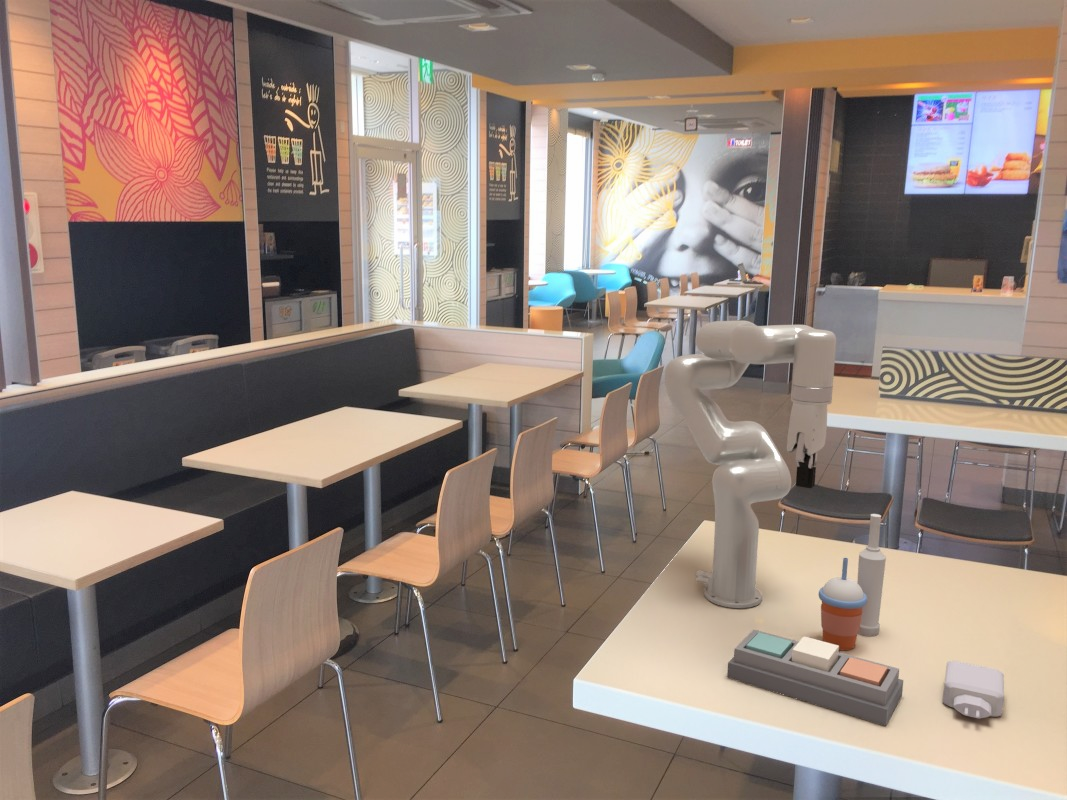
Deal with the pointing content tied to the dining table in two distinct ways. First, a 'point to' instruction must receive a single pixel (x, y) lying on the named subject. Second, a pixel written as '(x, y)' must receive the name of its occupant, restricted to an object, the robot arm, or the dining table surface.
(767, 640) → the teal key
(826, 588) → the cup with straw
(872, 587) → the bottle
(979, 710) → the charger
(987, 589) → the dining table surface
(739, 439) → the robot arm
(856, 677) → the terracotta key
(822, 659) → the cream key
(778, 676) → the keypad
